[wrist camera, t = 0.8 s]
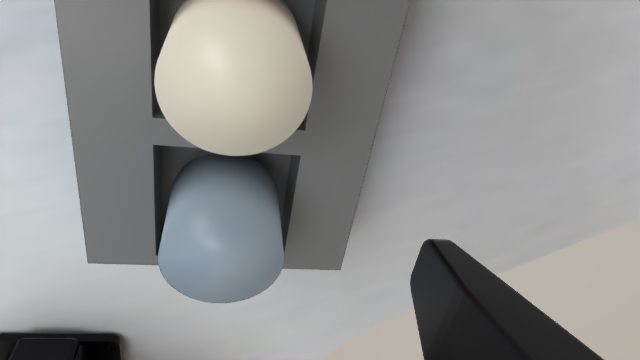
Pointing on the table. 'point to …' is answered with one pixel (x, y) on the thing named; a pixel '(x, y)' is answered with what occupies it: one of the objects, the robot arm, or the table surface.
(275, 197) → the blue button
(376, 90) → the console
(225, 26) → the cream button
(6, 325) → the table surface
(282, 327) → the table surface
